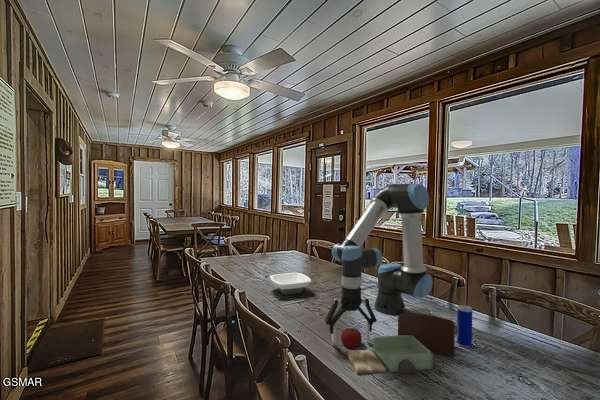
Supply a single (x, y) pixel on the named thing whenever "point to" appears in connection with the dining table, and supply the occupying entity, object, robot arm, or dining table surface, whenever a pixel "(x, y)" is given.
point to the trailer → (403, 354)
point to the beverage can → (464, 325)
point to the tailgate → (366, 361)
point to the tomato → (351, 337)
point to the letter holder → (429, 332)
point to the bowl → (290, 282)
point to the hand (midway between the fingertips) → (350, 340)
